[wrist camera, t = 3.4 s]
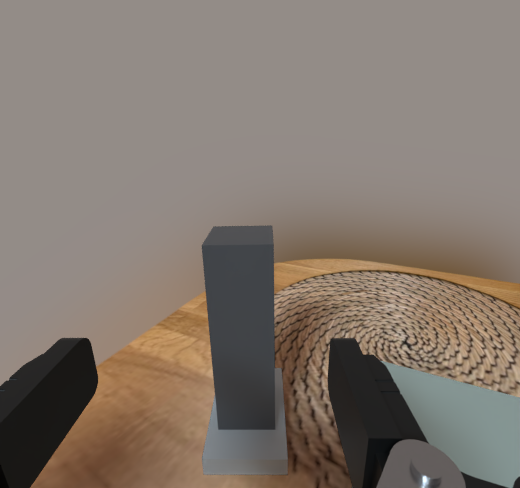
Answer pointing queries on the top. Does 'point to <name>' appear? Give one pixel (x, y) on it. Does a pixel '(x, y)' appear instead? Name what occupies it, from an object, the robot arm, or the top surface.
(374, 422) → the robot arm
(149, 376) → the top surface
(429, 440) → the board
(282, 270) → the top surface
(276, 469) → the grey pillar on base
